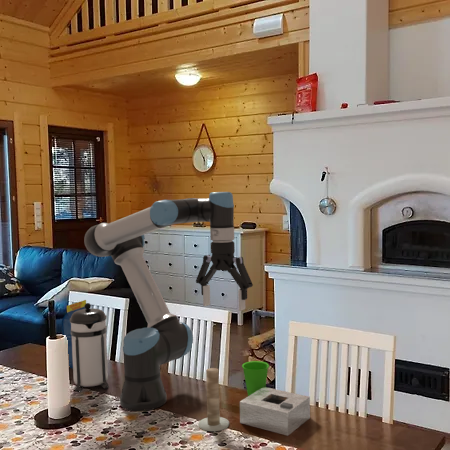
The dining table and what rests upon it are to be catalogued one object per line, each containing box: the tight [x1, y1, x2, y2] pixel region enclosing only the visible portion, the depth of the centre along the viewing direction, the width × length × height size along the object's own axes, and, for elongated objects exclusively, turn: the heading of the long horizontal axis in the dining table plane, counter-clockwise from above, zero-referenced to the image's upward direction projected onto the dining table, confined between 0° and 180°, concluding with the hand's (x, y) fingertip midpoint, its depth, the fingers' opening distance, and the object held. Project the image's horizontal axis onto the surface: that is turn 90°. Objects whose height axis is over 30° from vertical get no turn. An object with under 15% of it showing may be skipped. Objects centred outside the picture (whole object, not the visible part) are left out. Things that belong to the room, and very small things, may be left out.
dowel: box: [205, 367, 221, 426], centre depth 163 cm, size 4×4×16 cm
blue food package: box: [61, 299, 87, 369], centre depth 223 cm, size 6×12×25 cm, turn 156°
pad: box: [198, 416, 230, 432], centre depth 163 cm, size 9×9×1 cm
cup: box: [241, 360, 270, 397], centre depth 183 cm, size 9×9×11 cm
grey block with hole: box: [239, 386, 311, 437], centre depth 165 cm, size 16×14×7 cm
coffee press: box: [70, 302, 109, 393], centre depth 198 cm, size 17×16×30 cm
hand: (224, 307), depth 175 cm, fingers open, 13 cm apart
